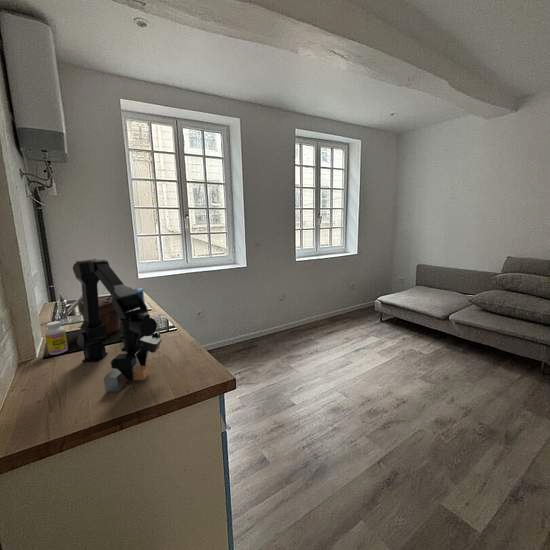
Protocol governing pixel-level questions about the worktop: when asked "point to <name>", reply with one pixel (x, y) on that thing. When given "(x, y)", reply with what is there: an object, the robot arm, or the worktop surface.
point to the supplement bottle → (56, 338)
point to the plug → (140, 372)
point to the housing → (116, 379)
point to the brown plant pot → (105, 314)
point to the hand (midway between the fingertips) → (137, 374)
